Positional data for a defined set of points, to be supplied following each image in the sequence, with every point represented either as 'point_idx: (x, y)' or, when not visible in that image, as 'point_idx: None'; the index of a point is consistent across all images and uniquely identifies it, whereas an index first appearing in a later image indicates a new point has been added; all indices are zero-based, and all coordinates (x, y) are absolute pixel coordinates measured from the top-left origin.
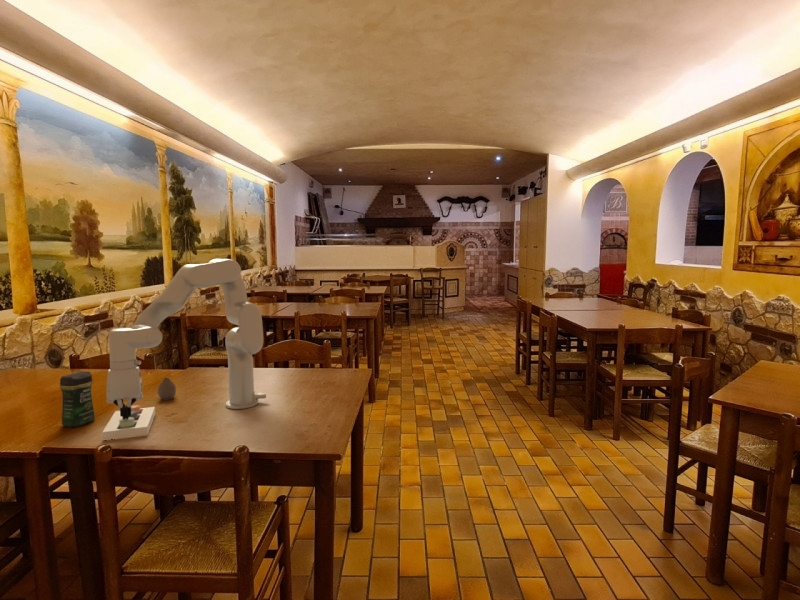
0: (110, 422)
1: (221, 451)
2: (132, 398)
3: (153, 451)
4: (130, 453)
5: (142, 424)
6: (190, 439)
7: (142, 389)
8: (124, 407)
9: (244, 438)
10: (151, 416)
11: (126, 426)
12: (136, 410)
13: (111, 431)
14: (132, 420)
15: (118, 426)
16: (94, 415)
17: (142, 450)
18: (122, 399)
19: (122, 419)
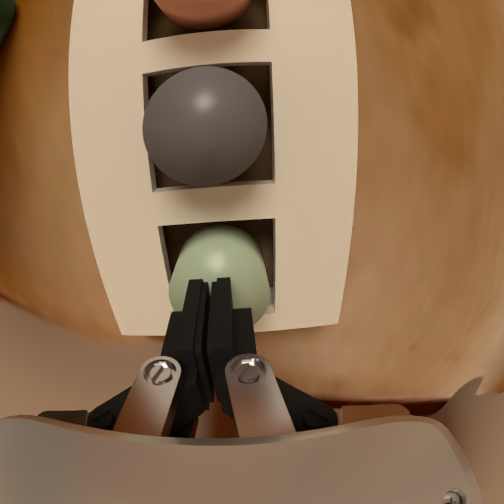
0: (90, 183)
1: (443, 400)
2: (290, 430)
3: (335, 406)
4: None
5: (313, 286)
6: (433, 351)
7: (461, 460)
8: (205, 390)
9: (496, 351)
10: (355, 114)
11: None
12: (232, 3)
13: (161, 333)
14: (261, 314)
15: (165, 261)
16: (5, 4)
17: None
18: (165, 434)
19: (184, 286)
